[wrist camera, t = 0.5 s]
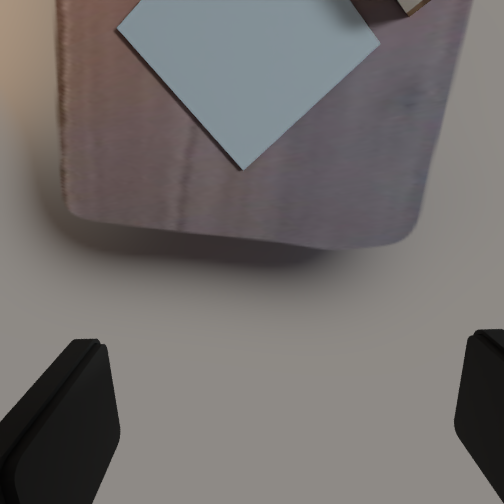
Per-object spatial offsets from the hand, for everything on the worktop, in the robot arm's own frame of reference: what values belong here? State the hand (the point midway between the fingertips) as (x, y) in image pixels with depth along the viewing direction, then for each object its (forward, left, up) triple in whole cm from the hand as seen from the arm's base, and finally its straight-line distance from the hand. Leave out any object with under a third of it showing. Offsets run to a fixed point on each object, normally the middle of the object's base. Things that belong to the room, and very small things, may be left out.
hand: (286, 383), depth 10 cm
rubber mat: (-9, -11, -28) cm, 32 cm away
